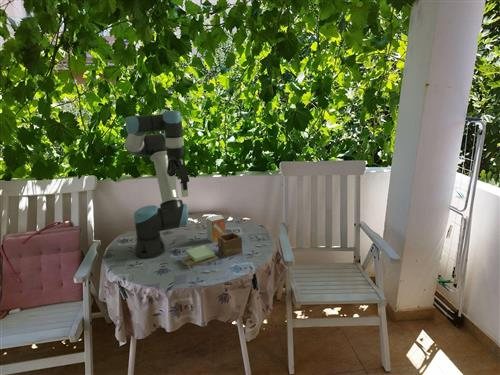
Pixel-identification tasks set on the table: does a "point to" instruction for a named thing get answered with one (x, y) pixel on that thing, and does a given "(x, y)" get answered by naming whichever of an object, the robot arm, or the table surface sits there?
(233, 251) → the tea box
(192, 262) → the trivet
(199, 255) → the lid
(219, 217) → the small box
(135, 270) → the table surface
